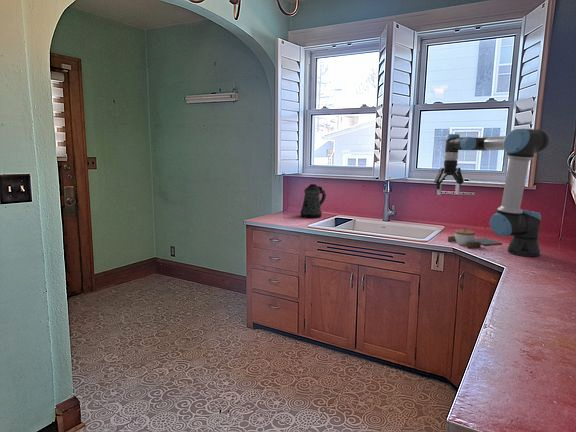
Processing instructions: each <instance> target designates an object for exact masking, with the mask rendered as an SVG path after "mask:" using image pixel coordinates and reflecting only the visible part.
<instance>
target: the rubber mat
mask: <svg viewBox="0 0 576 432" xmlns="http://www.w3.org/2000/svg"><path fill="white" fill-rule="evenodd" d="M473 242H481V246H483V247H484V246H486V247H487V246H495V245H497V246H498V245H502V244H503V243H502V242H500V241H496V240H492V239H490V238H487V237H480V238H474V240H473Z"/></svg>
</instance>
